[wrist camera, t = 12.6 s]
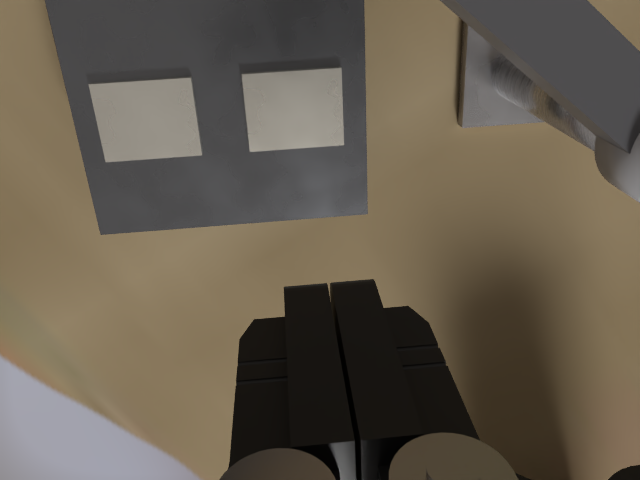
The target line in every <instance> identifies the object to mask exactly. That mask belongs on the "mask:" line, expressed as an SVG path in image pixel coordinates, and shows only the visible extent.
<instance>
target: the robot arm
mask: <svg viewBox="0 0 640 480" xmlns="http://www.w3.org/2000/svg"><path fill="white" fill-rule="evenodd" d="M330 299H331V302H330ZM284 302H285V317H276V318H265V319H254V320H253V322H252V323H251V324H250V326H249V327H248V329H247V330H246V331H245V333H244V334H243V335H242V337H241V338H240V341H239V353H238V366H237V378H236V384H237V386H236V390H235V402H234V414H233V427H232V439H231V451H230V462H229V468H228V470H227V471H226V472H225V473H224V474H223V476H222V477H221V478H220V480H530V479H527V478H525V477H523V476H521V475H519V474H516V473H515V472H514V471H513V469H512V468H511V466H510V465H509V463H508V462H507V461H506V459H505V458H504V457H503V456H502V455H501V454H500V453H498V452H497V451H496V450H495V449H493V448H492V447H490V446H489V445H487V444H485V443H484V442H482V441H480V439H479V437H478V435H477V433H476V430H475V428H474V426H473V424H472V421H471V419H470V417H469V414H468V412H467V410H466V407H465V405H464V403H463V401H462V398H461V396H460V394H459V391H458V389H457V387H456V384H455V382H454V380H453V378H452V375H451V373H450V371H449V368H448V366H446V361H445V359H444V357H443V355H442V352H441V350H440V348H438V343H437V341H436V338H435V336H434V334H433V332H432V329H431V327H430V325H429V323H428V322H427V321H426V320H425V319H424V318H422V317H421V316H420V315H419V314H417V313H416V312H415V311H414V310H413V309H411V308H410V307H409V306H403V307H391V308H383V305H382V302H381V299H380V296H379V293H378V289H377V286H376V283H375V281H374V280H373V279H370V280H358V281H346V282H334V283H330V296H329V291H328V285H327V283H324V284H312V285H300V286H288V287H284ZM608 480H640V465H636V466H630V467H627V468H624V469H621V470H620V471H618V472H616V473H615V474H613V475H612V476H611V477H610V478H609V479H608Z"/></svg>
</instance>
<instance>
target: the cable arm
mask: <svg viewBox="0 0 640 480" xmlns="http://www.w3.org/2000/svg"><path fill="white" fill-rule="evenodd" d="M440 1H441V2H442V3H444V4H445V5H446V6H447V7H448V8H449V9H450V10H452V11H453V12H454V13H455V14H456V15H457V16H459V17H460V18H461V19H462V20H463V21H464V22H465V23H467V24H468V25H469V26H470V27H471V28H472V29H473V30H475V31H476V32H477V33H478V34H479V35H480V36H481V37H483V38H484V39H485V40H486V41H487V42H488V43H490V44H491V45H492V46H493V47H494V48H495V49H496V50H498V51H499V52H500V53H501V54H502V55H503V56H504V57H506V58H507V59H508V60H509V61H510V62H511V63H513V64H514V65H515V66H516V67H517V68H518V69H519V70H521V71H522V72H523V73H524V74H525V75H526V76H527V77H529V78H530V79H531V80H532V81H533V82H534V83H535V84H537V85H538V86H539V87H540V88H541V89H542V90H544V91H545V92H546V93H547V94H548V95H549V96H550V97H552V98H553V99H554V100H555V101H556V102H557V103H558V104H560V105H561V106H562V107H563V108H564V109H565V110H567V111H568V112H569V113H570V114H571V115H572V116H573V117H575V118H576V119H577V120H578V121H579V122H580V123H581V124H583V125H584V126H585V127H586V128H587V129H588V130H590V131H591V132H592V133H593V134H594V135H595V136H596V139H595V160H596V164H597V167H598V169H599V171H600V173H601V174H602V176H603V177H604V178H605V179H606V180H607V181H608V182H609V183H611V184H612V185H614V186H615V187H617V188H618V189H620V190H621V191H623V192H624V193H626V194H627V195H629V196H630V197H632V198H633V199H635V200H636V201H638V202H639V203H640V51H639V50H637V49H636V48H635V47H634V46H633V45H632V44H631V43H630V42H629V41H628V40H627V39H626V38H625V37H624V36H623V35H622V34H621V33H620V32H619V31H618V30H617V29H616V28H615V27H614V26H613V25H612V24H611V23H610V22H609V21H608V20H607V19H606V18H605V17H604V16H603V15H602V14H601V13H600V12H599V11H597V10H596V9H595V8H594V7H593V6H592V5H591V4H590V3H589V2H588V1H587V0H440Z"/></svg>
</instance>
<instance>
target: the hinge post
mask: <svg viewBox="0 0 640 480" xmlns="http://www.w3.org/2000/svg"><path fill="white" fill-rule="evenodd" d="M537 122H546V123H548V124H549V125H551V126H553V127H554V128H556V129H558V130H559V131H561V132H563V133H564V134H566V135H568V136H569V137H571V138H573V139H575V140H576V141H578V142H580V143H581V144H583V145H585V146H586V147H588V148H590V149H591V150H593V151H595V139H596V136H595V135H594V134H593V133H592V132H591V131H590V130H588V129H587V128H586V127H585V126H584V125H583V124H581V123H580V122H579V121H578V120H577V119H576V118H575V117H573V116H572V115H571V114H570V113H569V112H568V111H567V110H565V109H564V108H563V107H562V106H561V105H560V104H558V103H557V102H556V101H555V100H554V99H553V98H552V97H550V96H549V95H548V94H547V93H546V92H545V91H544V90H542V89H541V88H540V87H539V86H538V85H537V84H535V83H534V82H533V81H532V80H531V79H530V78H529V77H527V76H526V75H525V74H524V73H523V72H522V71H521V70H519V69H518V68H517V67H516V66H515V65H514V64H513V63H511V62H510V61H509V60H508V59H507V58H506V57H504V56H503V55H502V54H501V53H500V52H499V51H498V50H496V49H495V48H494V47H493V46H492V45H491V44H490V43H488V42H487V41H486V40H485V39H484V38H483V37H481V36H480V35H479V34H478V33H477V32H476V31H475V30H473V29H472V28H471V27H470V26H469V25H468V24H467V23H465V22H464V21H463V34H462V53H461V71H460V90H459V109H458V125H460V126H461V127H462V128H467V127H481V126H495V125H509V124H523V123H537Z"/></svg>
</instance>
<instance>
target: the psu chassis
mask: <svg viewBox="0 0 640 480" xmlns="http://www.w3.org/2000/svg"><path fill="white" fill-rule="evenodd" d="M45 3H46V7H47V11H48V15H49V20H50V24H51V28H52V32H53V36H54V41H55V45H56V49H57V53H58V57H59V62H60V66H61V70H62V74H63V78H64V83H65V87H66V91H67V95H68V99H69V104H70V108H71V112H72V116H73V120H74V125H75V129H76V133H77V137H78V141H79V146H80V150H81V154H82V158H83V162H84V167H85V171H86V175H87V179H88V183H89V188H90V192H91V196H92V200H93V204H94V209H95V213H96V217H97V221H98V226H99V230H100V234H101V235H104V234H117V233H130V232H143V231H156V230H169V229H182V228H195V227H208V226H220V225H233V224H246V223H259V222H272V221H285V220H298V219H311V218H324V217H337V216H350V215H362V214H368V206H367V145H366V84H365V22H364V0H45Z"/></svg>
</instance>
